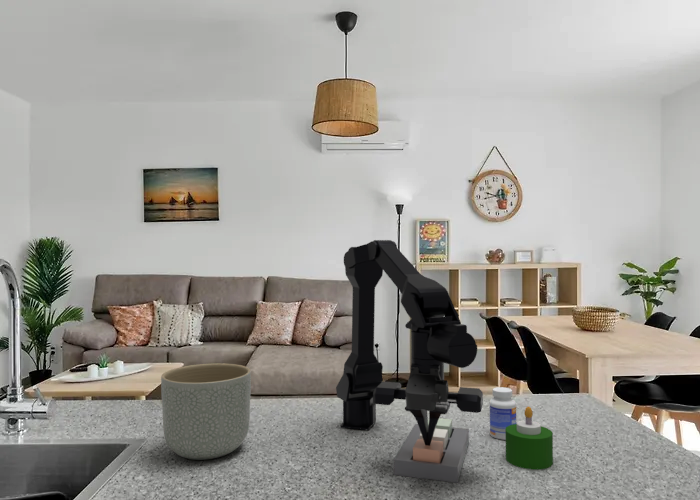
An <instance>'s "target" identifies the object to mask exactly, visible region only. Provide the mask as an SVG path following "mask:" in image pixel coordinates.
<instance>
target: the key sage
mask: <svg viewBox="0 0 700 500" xmlns="http://www.w3.org/2000/svg"><path fill="white" fill-rule="evenodd" d="M428 426H429V418H428ZM452 427H453V419H452V418H451V419H450V418H440V417H439V420H438V422H437V425H436V429H446V430H448V437H449V438H450V436H451V433H452Z"/></svg>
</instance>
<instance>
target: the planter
mask: <svg viewBox="0 0 700 500" xmlns="http://www.w3.org/2000/svg"><path fill="white" fill-rule="evenodd" d="M251 372H252V371H251V369H250V368H249V367H248V366H246V365H241V364H235V363H223V362H222V363H217V362H216V363H202V364H200V363H199V364H191V365H186V366H185V365H184V366H179V367H176V368H172V369H170V370H167V371H165V372H163V373H162V374H161V377H160V378H161V379H160V380H161V381H160V382H161V383H160V385H161V387H160V389H161V406H162V407H161V409H162V428H163V429H162V430H163V437H164V441H165V443H166V444H167V446H168V448H169V449H170V450H171V451H172V452H173V453H175V454H176V455H178V456H179V457H181V458H184V459H187V460H188V459H189V460H194V461H195V460H197V461H202V460H203V461H204V460H212V459H217V458H221V457H224V456H227V455H229V454H230V453H231V454H232V452H234V451H235V450H237V449H238V448H239V447H240V446H241V444H242V443H244V441H245V439H246V438H247V435H248V433H249V427H250V417H251V415H250V414H251V413H250V412H251V389H252V388H251V386H252V385H251V384H252V381H251V380H252V375H251V374H252V373H251Z"/></svg>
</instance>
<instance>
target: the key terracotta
mask: <svg viewBox="0 0 700 500" xmlns="http://www.w3.org/2000/svg"><path fill="white" fill-rule="evenodd" d="M442 457H443V441H433V440H432V441H431V444H430V446H428V445H425V443H424V440H423V439H417V441H416V443H415V445H414V447H413V460H416V461H425V462H433V463H440V462H441V459H442Z"/></svg>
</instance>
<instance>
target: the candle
mask: <svg viewBox="0 0 700 500" xmlns="http://www.w3.org/2000/svg"><path fill="white" fill-rule="evenodd" d="M533 414H534V413H533V409H532V408H531V407H530V406H527V407H525V410H524V417H525V420H524V419H523V420H518V421H516V424H513V425H509V426H507V427H506V429H505V433H506V440H505V460H506V462H507V463H509V464H510V465H512V466H515V467H518V468H521V469H524V470H525V469H527V470H532V471H533V470H537V471H538V470H546V469H549V468H551V467H552V466H553V464H554V455H553V454H554V453H553V450H554V447H553V445H554V444H553V442H554V440H553V439H554V438H553V431H552V430H551V429H549V428H548V427H545V426H542V424H541V423H539V422H537V421H534V420H533Z"/></svg>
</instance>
